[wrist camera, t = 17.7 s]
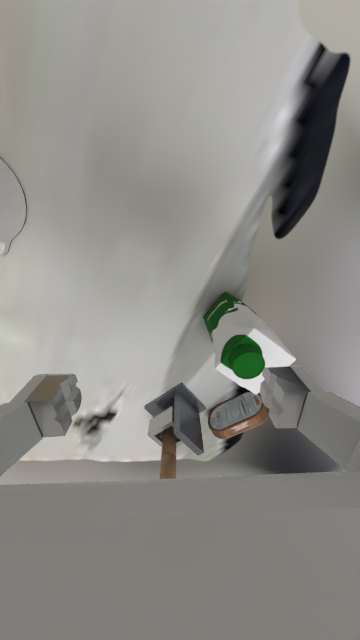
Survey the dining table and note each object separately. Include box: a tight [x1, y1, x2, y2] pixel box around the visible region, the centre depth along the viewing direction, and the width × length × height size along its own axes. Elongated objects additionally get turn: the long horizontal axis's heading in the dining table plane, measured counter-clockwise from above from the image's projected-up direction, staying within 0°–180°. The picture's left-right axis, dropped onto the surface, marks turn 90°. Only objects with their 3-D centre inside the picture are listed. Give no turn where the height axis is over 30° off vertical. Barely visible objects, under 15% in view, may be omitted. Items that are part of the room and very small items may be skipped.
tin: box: [208, 391, 270, 439], centre depth 50 cm, size 15×3×8 cm, turn 123°
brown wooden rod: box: [160, 426, 176, 479], centre depth 43 cm, size 3×3×18 cm
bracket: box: [145, 383, 206, 455], centre depth 49 cm, size 12×10×12 cm
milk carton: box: [203, 292, 296, 395], centre depth 35 cm, size 9×9×20 cm
